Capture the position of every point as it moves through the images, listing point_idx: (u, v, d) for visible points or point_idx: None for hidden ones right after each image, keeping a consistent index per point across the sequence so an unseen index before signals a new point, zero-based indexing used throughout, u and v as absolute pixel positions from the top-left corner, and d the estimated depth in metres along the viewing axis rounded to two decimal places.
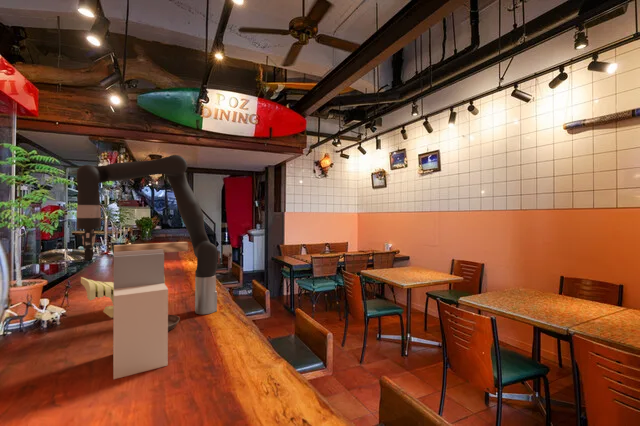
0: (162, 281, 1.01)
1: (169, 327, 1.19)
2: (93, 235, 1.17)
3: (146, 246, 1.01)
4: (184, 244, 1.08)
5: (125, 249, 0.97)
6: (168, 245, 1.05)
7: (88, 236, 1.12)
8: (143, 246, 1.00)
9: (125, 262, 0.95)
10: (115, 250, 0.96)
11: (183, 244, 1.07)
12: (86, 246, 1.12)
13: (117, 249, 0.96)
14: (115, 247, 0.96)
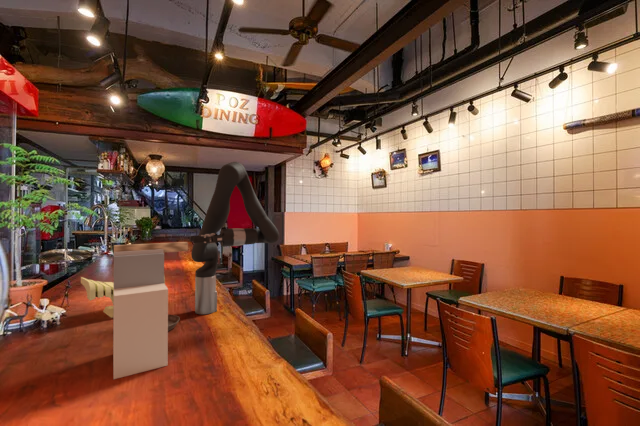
0: (162, 281, 1.01)
1: (169, 327, 1.19)
2: None
3: (146, 246, 1.01)
4: (184, 244, 1.08)
5: (125, 249, 0.97)
6: (168, 245, 1.05)
7: None
8: (143, 246, 1.00)
9: (125, 262, 0.95)
10: (115, 250, 0.96)
11: (183, 244, 1.07)
12: None
13: (117, 249, 0.96)
14: (115, 247, 0.96)
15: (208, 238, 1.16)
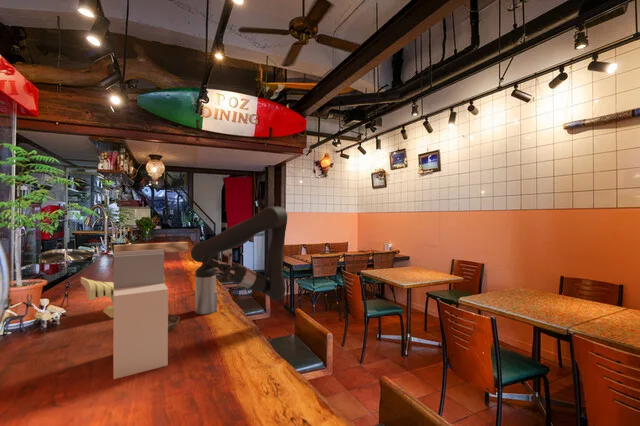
0: (162, 281, 1.01)
1: (169, 327, 1.19)
2: None
3: (146, 246, 1.01)
4: (184, 244, 1.08)
5: (125, 249, 0.97)
6: (168, 245, 1.05)
7: None
8: (143, 246, 1.00)
9: (125, 262, 0.95)
10: (115, 250, 0.96)
11: (183, 244, 1.07)
12: None
13: (117, 249, 0.96)
14: (115, 247, 0.96)
15: (223, 266, 1.10)
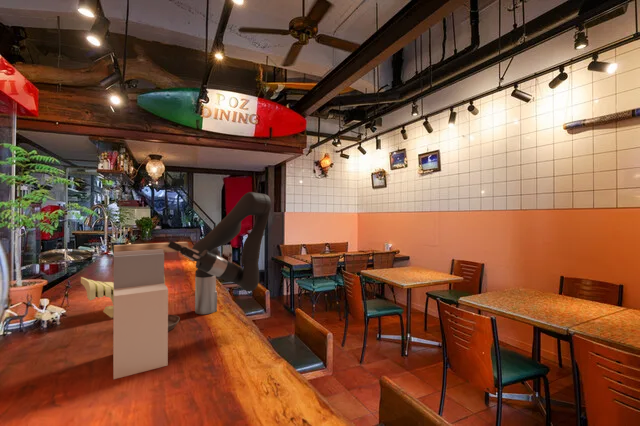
0: (162, 281, 1.01)
1: (169, 327, 1.19)
2: None
3: (146, 246, 1.01)
4: (184, 244, 1.08)
5: (125, 249, 0.97)
6: None
7: None
8: (143, 246, 1.00)
9: (125, 262, 0.95)
10: (115, 250, 0.96)
11: (183, 244, 1.07)
12: None
13: (117, 249, 0.96)
14: (115, 247, 0.96)
15: (184, 249, 1.05)
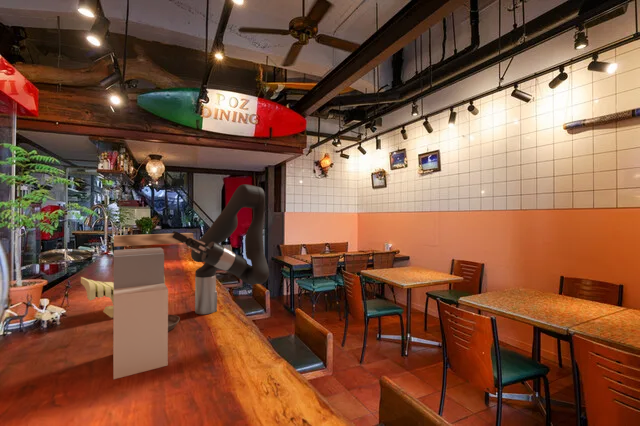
0: (162, 281, 1.01)
1: (169, 327, 1.19)
2: None
3: (149, 237, 0.93)
4: (189, 235, 1.00)
5: (126, 240, 0.90)
6: None
7: None
8: (145, 237, 0.93)
9: (125, 262, 0.95)
10: (115, 241, 0.89)
11: (188, 235, 1.00)
12: None
13: (117, 240, 0.89)
14: (115, 237, 0.89)
15: (190, 240, 0.97)
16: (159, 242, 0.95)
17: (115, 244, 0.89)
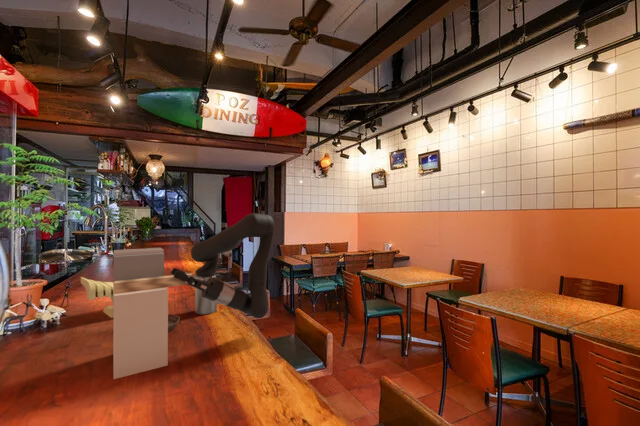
0: None
1: (169, 327, 1.19)
2: None
3: (149, 281, 0.94)
4: None
5: (126, 286, 0.90)
6: (172, 279, 0.97)
7: None
8: (146, 281, 0.93)
9: (125, 262, 0.95)
10: (116, 287, 0.89)
11: None
12: None
13: (118, 286, 0.89)
14: (116, 284, 0.89)
15: (192, 279, 0.97)
16: (159, 286, 0.95)
17: (115, 291, 0.89)
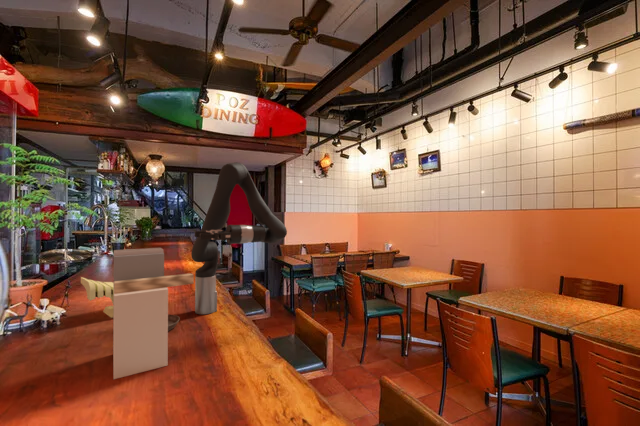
0: None
1: (169, 327, 1.19)
2: None
3: (149, 281, 0.94)
4: (189, 277, 1.00)
5: (126, 286, 0.90)
6: (172, 279, 0.97)
7: None
8: (146, 281, 0.93)
9: (125, 262, 0.95)
10: (116, 287, 0.89)
11: (188, 277, 1.00)
12: None
13: (118, 286, 0.89)
14: (116, 284, 0.89)
15: (216, 235, 1.10)
16: (159, 286, 0.95)
17: (115, 291, 0.89)
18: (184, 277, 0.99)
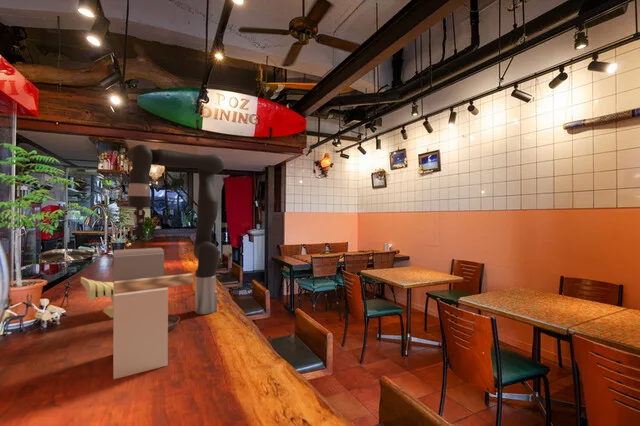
0: None
1: (169, 327, 1.19)
2: (144, 213, 1.20)
3: (149, 281, 0.94)
4: (189, 277, 1.00)
5: (126, 286, 0.90)
6: (172, 279, 0.97)
7: (141, 213, 1.15)
8: (146, 281, 0.93)
9: (125, 262, 0.95)
10: (116, 287, 0.89)
11: (188, 277, 1.00)
12: (139, 223, 1.15)
13: (118, 286, 0.89)
14: (116, 284, 0.89)
15: None
16: (159, 286, 0.95)
17: (115, 291, 0.89)
18: (184, 277, 0.99)
